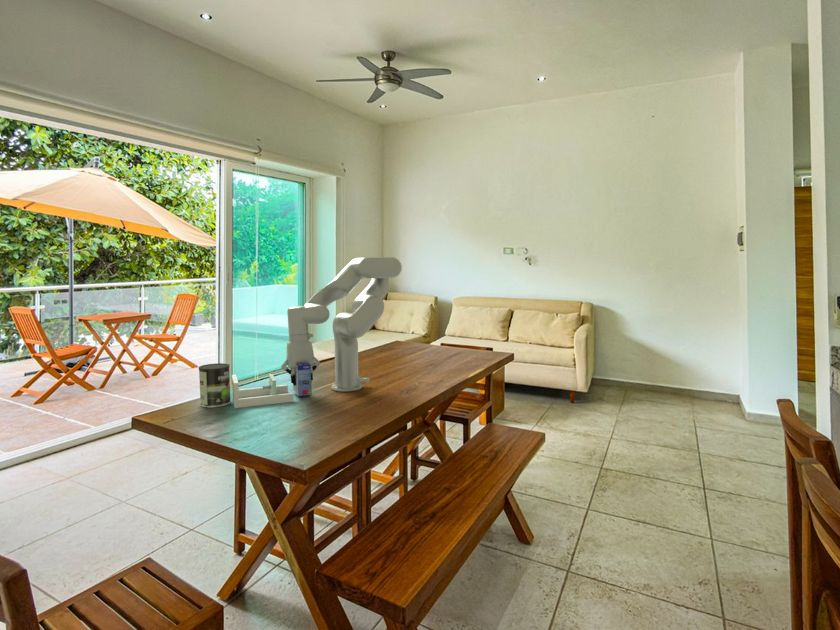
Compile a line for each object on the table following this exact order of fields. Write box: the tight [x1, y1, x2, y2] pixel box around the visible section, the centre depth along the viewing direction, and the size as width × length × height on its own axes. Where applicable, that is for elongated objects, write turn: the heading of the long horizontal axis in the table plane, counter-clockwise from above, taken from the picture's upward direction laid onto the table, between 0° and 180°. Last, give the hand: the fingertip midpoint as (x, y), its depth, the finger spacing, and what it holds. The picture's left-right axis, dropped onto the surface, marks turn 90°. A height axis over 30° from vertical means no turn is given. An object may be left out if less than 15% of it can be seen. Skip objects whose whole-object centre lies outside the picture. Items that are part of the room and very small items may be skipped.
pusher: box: [262, 373, 277, 395], centre depth 175 cm, size 4×11×8 cm, turn 25°
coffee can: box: [198, 362, 231, 409], centre depth 168 cm, size 10×10×14 cm
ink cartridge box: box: [292, 363, 313, 397], centre depth 180 cm, size 10×6×14 cm, turn 27°
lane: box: [231, 374, 294, 409], centre depth 174 cm, size 20×14×9 cm
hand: (302, 383), depth 180 cm, fingers closed on ink cartridge box, 5 cm apart
